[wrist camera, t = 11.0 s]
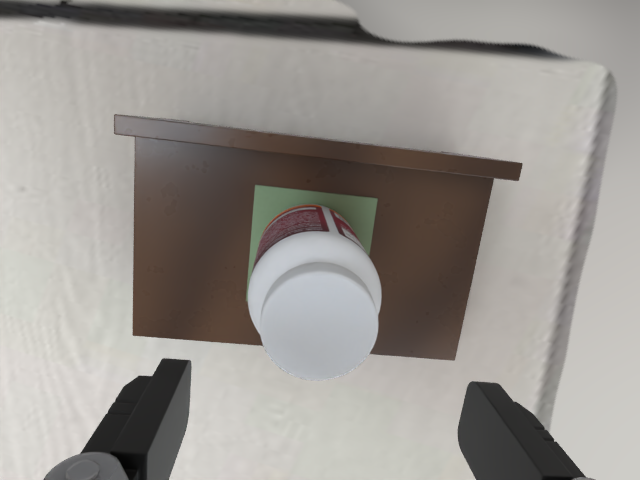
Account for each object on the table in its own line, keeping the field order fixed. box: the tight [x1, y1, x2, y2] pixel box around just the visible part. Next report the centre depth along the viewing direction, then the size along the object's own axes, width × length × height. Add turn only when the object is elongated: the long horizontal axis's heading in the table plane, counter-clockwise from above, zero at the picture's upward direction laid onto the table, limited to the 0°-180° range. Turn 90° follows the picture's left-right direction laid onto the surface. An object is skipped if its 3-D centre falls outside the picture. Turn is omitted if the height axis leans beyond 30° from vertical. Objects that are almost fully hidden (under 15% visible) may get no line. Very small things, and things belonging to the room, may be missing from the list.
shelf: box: [114, 114, 522, 360], centre depth 29 cm, size 22×14×9 cm, turn 83°
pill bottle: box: [248, 204, 382, 381], centre depth 22 cm, size 6×6×11 cm
